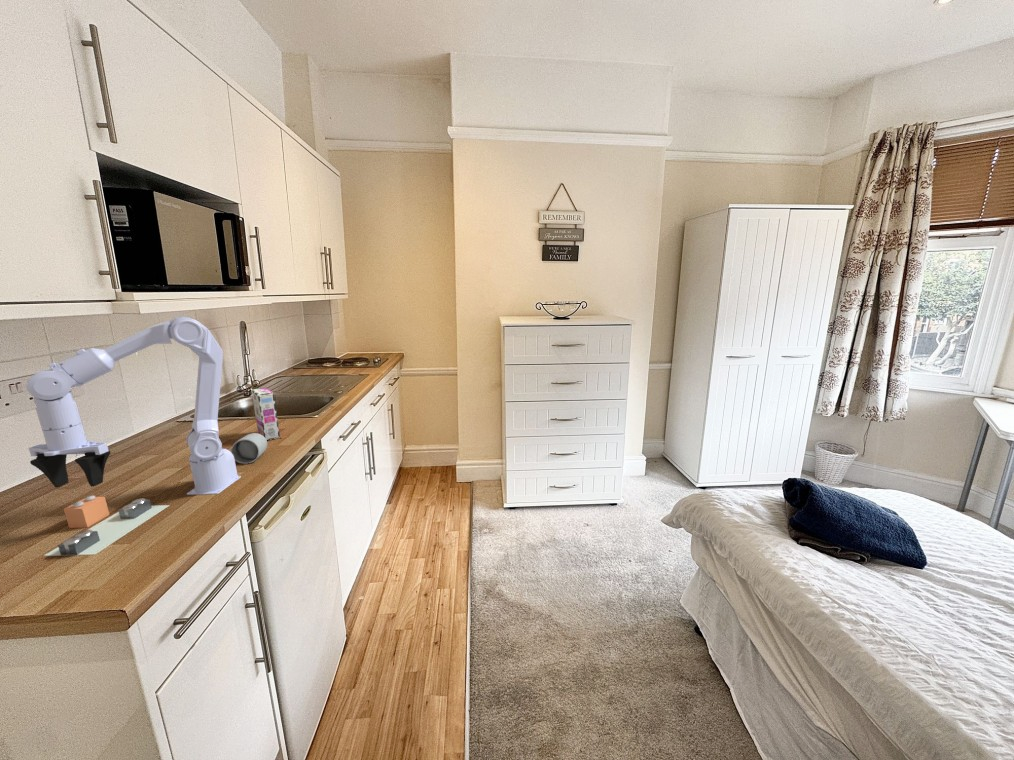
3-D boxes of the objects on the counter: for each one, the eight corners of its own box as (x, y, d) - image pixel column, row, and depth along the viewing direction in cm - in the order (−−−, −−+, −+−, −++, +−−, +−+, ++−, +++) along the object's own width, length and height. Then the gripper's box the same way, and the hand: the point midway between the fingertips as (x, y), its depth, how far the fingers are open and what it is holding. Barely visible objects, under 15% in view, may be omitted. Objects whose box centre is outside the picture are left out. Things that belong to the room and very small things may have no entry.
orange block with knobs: (92, 516, 92) (86, 494, 91) (110, 516, 92) (103, 494, 91) (69, 529, 87) (62, 506, 86) (88, 529, 87) (81, 506, 86)
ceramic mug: (270, 451, 127) (266, 429, 125) (261, 462, 119) (256, 438, 118) (233, 455, 125) (228, 432, 123) (221, 467, 117) (216, 442, 116)
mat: (128, 507, 96) (127, 506, 96) (170, 506, 96) (169, 505, 96) (44, 557, 78) (43, 555, 78) (95, 556, 78) (94, 554, 78)
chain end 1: (84, 540, 83) (81, 530, 82) (100, 540, 83) (97, 529, 82) (60, 555, 78) (57, 544, 77) (77, 554, 78) (73, 543, 77)
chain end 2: (138, 508, 95) (136, 498, 94) (152, 507, 95) (149, 498, 94) (120, 519, 90) (117, 509, 90) (134, 518, 90) (131, 508, 90)
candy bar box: (281, 437, 139) (274, 392, 135) (265, 441, 136) (257, 395, 132) (273, 430, 147) (266, 386, 143) (257, 433, 144) (250, 389, 140)
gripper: (4, 433, 80) (24, 494, 83) (77, 431, 80) (94, 493, 84) (43, 421, 87) (60, 479, 90) (110, 420, 87) (125, 477, 90)
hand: (79, 484), depth 87 cm, fingers open, 7 cm apart
